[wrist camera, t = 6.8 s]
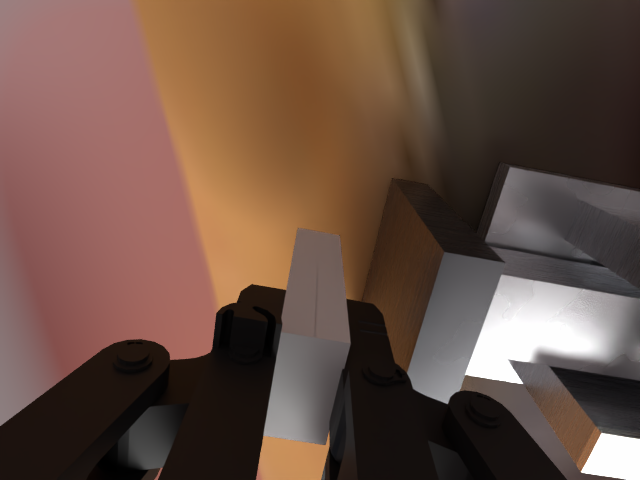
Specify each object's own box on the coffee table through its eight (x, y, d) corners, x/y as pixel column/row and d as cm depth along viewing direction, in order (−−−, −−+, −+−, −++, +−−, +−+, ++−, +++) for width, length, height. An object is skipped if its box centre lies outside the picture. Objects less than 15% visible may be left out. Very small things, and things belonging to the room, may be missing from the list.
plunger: (401, 141, 16) (463, 190, 9) (783, 214, 17) (1114, 311, 10) (350, 348, 19) (366, 506, 12) (674, 401, 20) (867, 577, 13)
